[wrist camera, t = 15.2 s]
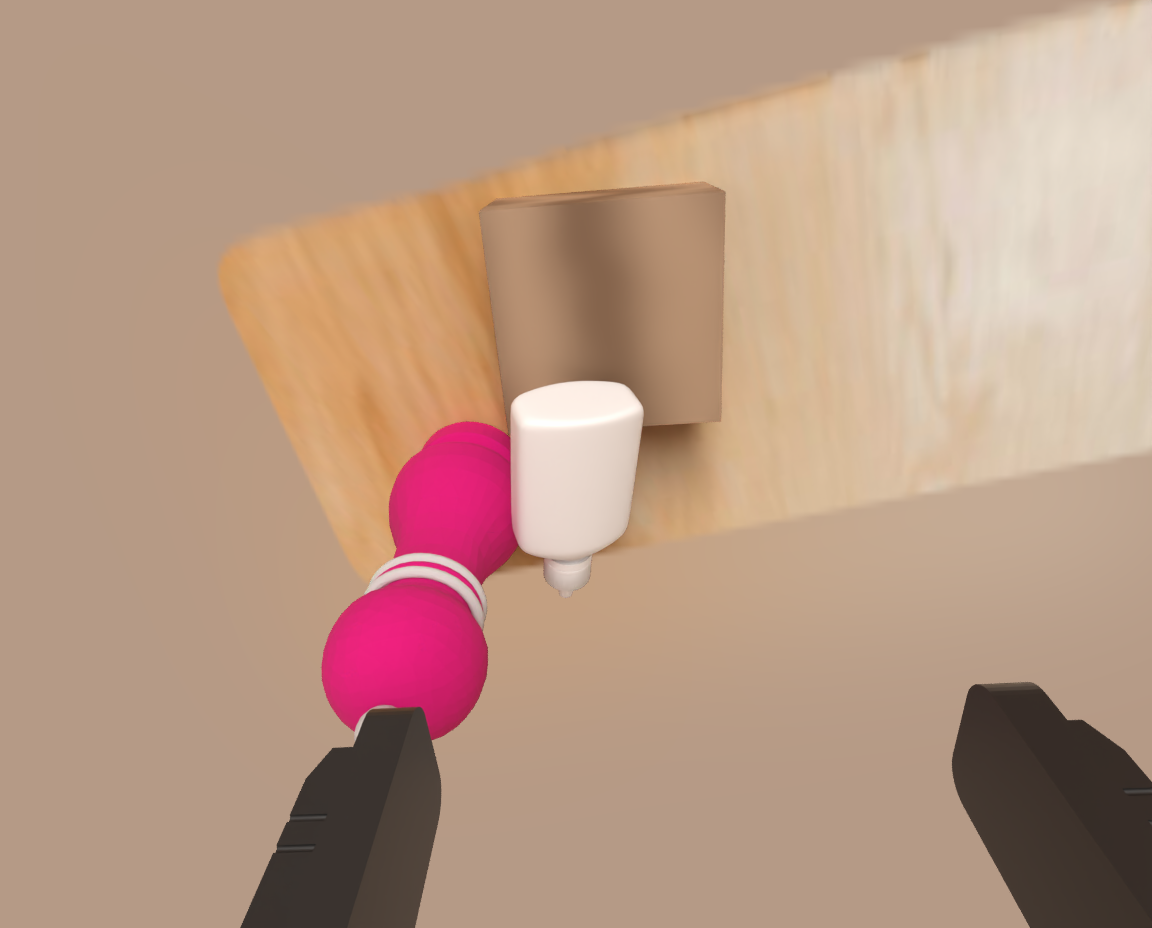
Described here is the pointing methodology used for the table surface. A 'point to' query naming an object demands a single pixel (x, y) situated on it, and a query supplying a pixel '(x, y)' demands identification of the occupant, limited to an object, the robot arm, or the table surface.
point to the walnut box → (612, 294)
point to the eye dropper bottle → (573, 473)
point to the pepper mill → (429, 586)
